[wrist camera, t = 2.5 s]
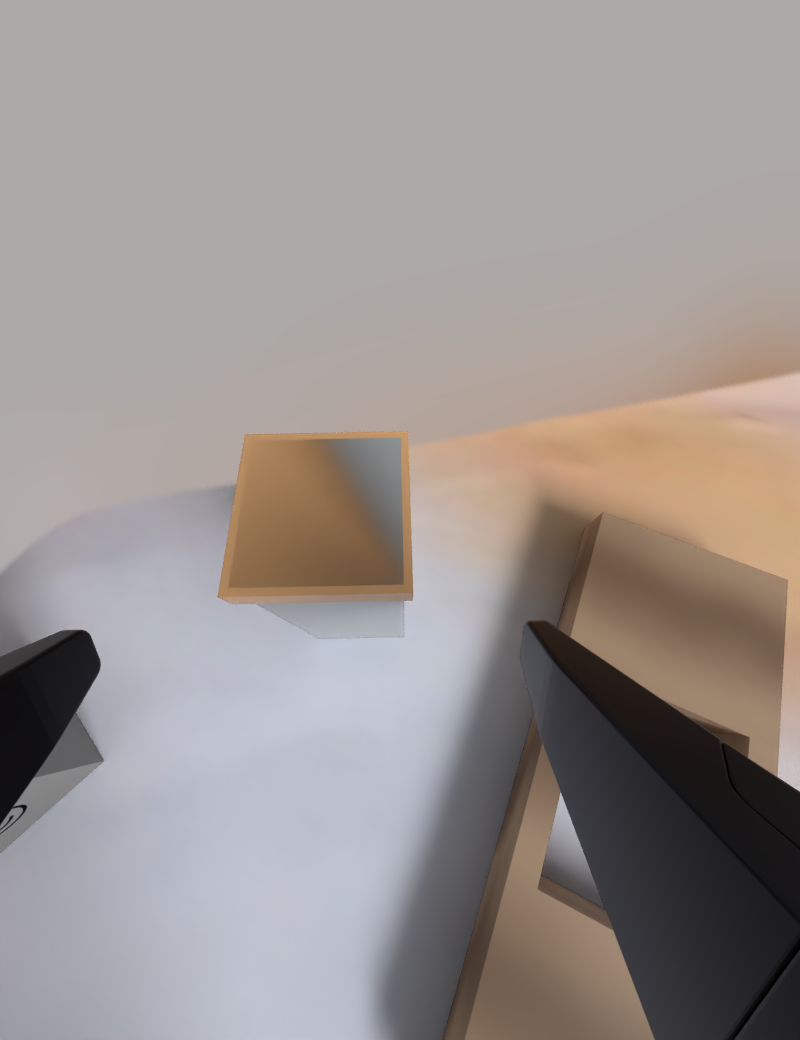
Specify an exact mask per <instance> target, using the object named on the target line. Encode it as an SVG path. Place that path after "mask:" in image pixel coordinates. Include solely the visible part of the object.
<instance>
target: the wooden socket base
mask: <svg viewBox="0 0 800 1040" xmlns="http://www.w3.org/2000/svg"><path fill="white" fill-rule="evenodd" d="M787 588H788V580H787V579H784V578H781V577H778V576H776V575H773V574H770V573H767V572H765V571H762V570H759V569H757V568H754V567H751V566H748V565H746V564H743V563H740V562H737V561H735V560H732V559H729V558H726V557H724V556H721V555H718V554H716V553H713V552H710V551H707V550H705V549H702V548H699V547H696V546H694V545H691V544H688V543H686V542H683V541H680V540H677V539H675V538H672V537H669V536H666V535H664V534H661V533H658V532H655V531H653V530H650V529H647V528H645V527H642V526H639V525H636V524H634V523H631V522H628V521H625V520H623V519H620V518H617V517H615V516H612V515H609V514H606V513H604V512H603V513H602V514H601V515H600V516H598V517H597V518H596V519H595V520H594V521H593V522H592V523H590V524H589V525H588V526H587V527H586V528H585V530H584V533H583V537H582V541H581V544H580V548H579V551H578V555H577V558H576V562H575V566H574V569H573V573H572V576H571V580H570V584H569V587H568V591H567V594H566V598H565V602H564V605H563V609H562V612H561V616H560V620H559V623H558V627H557V628H558V629H559V630H561V631H562V632H564V633H565V634H566V635H568V636H569V637H571V638H572V639H574V640H575V641H577V642H578V643H580V644H581V645H583V646H584V647H586V648H587V649H589V650H590V651H591V652H593V653H594V654H596V655H597V656H599V657H600V658H602V659H603V660H605V661H606V662H608V663H609V664H611V665H612V666H614V667H615V668H617V669H618V670H619V671H621V672H622V673H624V674H625V675H627V676H628V677H630V678H631V679H633V680H634V681H636V682H637V683H639V684H640V685H642V686H643V687H645V688H646V689H647V690H649V691H650V692H652V693H653V694H655V695H656V696H658V697H659V698H661V699H662V700H664V701H665V702H667V703H668V704H670V705H671V706H673V707H674V708H675V709H677V710H678V711H680V712H681V713H683V714H684V715H686V716H687V717H689V718H690V719H692V720H693V721H695V722H696V723H698V724H699V725H701V726H702V727H703V728H705V729H706V730H708V731H711V733H712V734H714V735H715V736H717V737H718V738H720V740H721V743H724V742H725V743H727V744H729V745H730V746H732V747H733V748H735V749H736V750H738V751H739V752H741V753H742V754H744V755H745V756H746V757H748V758H749V759H751V760H752V761H754V762H755V763H757V764H758V765H760V766H761V767H763V768H764V769H766V770H768V771H769V772H771V773H772V774H774V775H775V776H777V772H778V754H779V735H780V717H781V698H782V680H783V662H784V643H785V625H786V606H787ZM560 792H561V791H560V788H559V786H558V783H557V781H556V778H555V775H554V773H553V770H552V767H551V765H550V762H549V759H548V757H547V754H546V751H545V749H544V746H543V743H542V740H541V737H540V734H539V730H538V727H537V723H536V719H535V715H534V713H533V717H532V720H531V724H530V728H529V731H528V735H527V738H526V742H525V745H524V749H523V753H522V756H521V760H520V763H519V767H518V771H517V774H516V778H515V781H514V785H513V789H512V792H511V796H510V799H509V803H508V807H507V810H506V814H505V817H504V821H503V825H502V828H501V832H500V835H499V839H498V843H497V846H496V850H495V853H494V857H493V861H492V864H491V868H490V871H489V875H488V879H487V882H486V886H485V889H484V893H483V897H482V900H481V904H480V907H479V911H478V914H477V918H476V922H475V925H474V929H473V932H472V936H471V940H470V943H469V947H468V950H467V954H466V958H465V961H464V965H463V968H462V972H461V976H460V979H459V983H458V986H457V990H456V994H455V997H454V1001H453V1004H452V1008H451V1012H450V1015H449V1019H448V1022H447V1026H446V1030H445V1033H444V1037H443V1040H655V1039H654V1037H653V1034H652V1031H651V1029H650V1026H649V1023H648V1021H647V1018H646V1016H645V1013H644V1010H643V1008H642V1005H641V1002H640V1000H639V997H638V994H637V992H636V989H635V987H634V984H633V981H632V979H631V976H630V973H629V971H628V968H627V965H626V963H625V960H624V957H623V955H622V952H621V950H620V947H619V944H618V942H617V939H616V936H615V934H614V931H613V928H612V926H611V923H610V920H609V918H608V915H607V913H606V910H605V909H603V908H602V907H600V906H598V905H596V904H594V903H592V902H590V901H589V900H587V899H585V898H583V897H581V896H579V895H577V894H576V893H574V892H572V891H570V890H568V889H566V888H564V887H563V886H561V885H559V884H557V883H555V882H553V881H551V880H549V879H548V878H546V877H544V876H542V875H541V872H542V868H543V863H544V859H545V855H546V851H547V847H548V842H549V838H550V834H551V830H552V825H553V821H554V817H555V813H556V809H557V804H558V800H559V796H560Z"/></svg>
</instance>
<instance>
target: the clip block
mask: <svg viewBox="0 0 800 1040" xmlns="http://www.w3.org/2000/svg"><path fill="white" fill-rule="evenodd" d="M218 598H220V599H222V600H224V601H227V602H229V603H231V604H257V605H259V606H260V607H262V608H264V609H266V610H268V611H269V612H271V613H273V614H275V615H277V616H278V617H280V618H282V619H284V620H286V621H287V622H289V623H291V624H293V625H294V626H296V627H298V628H300V629H302V630H303V631H305V632H307V633H309V634H311V635H312V636H314V637H316V638H318V639H328V638H378V637H404V601H412V600H413V575H412V543H411V511H410V479H409V447H408V431H394V432H346V433H300V434H255V435H254V434H253V435H245V438H244V444H243V450H242V456H241V461H240V467H239V473H238V479H237V485H236V491H235V497H234V503H233V509H232V515H231V520H230V526H229V532H228V538H227V544H226V550H225V556H224V562H223V568H222V574H221V580H220V586H219V591H218Z"/></svg>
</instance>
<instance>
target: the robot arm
mask: <svg viewBox="0 0 800 1040" xmlns="http://www.w3.org/2000/svg"><path fill="white" fill-rule="evenodd" d="M520 660H521V665H522V669H523V673H524V677H525V681H526V685H527V689H528V692H529V696H530V700H531V704H532V708H533V712H534V715H535V719H536V723H537V727H538V730H539V734H540V737H541V740H542V743H543V746H544V749H545V751H546V754H547V757H548V759H549V762H550V765H551V767H552V770H553V773H554V775H555V778H556V781H557V783H558V786H559V788H560V791H561V794H562V796H563V799H564V802H565V804H566V807H567V810H568V812H569V815H570V817H571V820H572V823H573V825H574V828H575V831H576V833H577V836H578V839H579V841H580V844H581V847H582V849H583V852H584V854H585V857H586V860H587V862H588V865H589V868H590V870H591V873H592V876H593V878H594V881H595V884H596V886H597V889H598V891H599V894H600V897H601V899H602V902H603V905H604V907H605V910H606V913H607V915H608V918H609V920H610V923H611V926H612V928H613V931H614V934H615V936H616V939H617V942H618V944H619V947H620V950H621V952H622V955H623V957H624V960H625V963H626V965H627V968H628V971H629V973H630V976H631V979H632V981H633V984H634V987H635V989H636V992H637V994H638V997H639V1000H640V1002H641V1005H642V1008H643V1010H644V1013H645V1016H646V1018H647V1021H648V1023H649V1026H650V1029H651V1031H652V1034H653V1037H654V1039H655V1040H800V792H799V791H798V790H796V789H795V788H793V787H792V786H790V785H789V784H787V783H786V782H784V781H783V780H781V779H780V778H778V777H777V776H775V775H774V774H772V773H771V772H769V771H768V770H766V769H764V768H763V767H761V766H760V765H758V764H757V763H755V762H754V761H752V760H751V759H749V758H748V757H746V756H745V755H744V754H742V753H741V752H739V751H738V750H736V749H735V748H733V747H732V746H730V745H729V744H727V743H725V742H724V743H721V740H720V738H718V737H717V736H715V735H714V734H712V733H711V732H709V731H708V730H706V729H705V728H703V727H702V726H701V725H699V724H698V723H696V722H695V721H693V720H692V719H690V718H689V717H687V716H686V715H684V714H683V713H681V712H680V711H678V710H677V709H675V708H674V707H673V706H671V705H670V704H668V703H667V702H665V701H664V700H662V699H661V698H659V697H658V696H656V695H655V694H653V693H652V692H650V691H649V690H647V689H646V688H645V687H643V686H642V685H640V684H639V683H637V682H636V681H634V680H633V679H631V678H630V677H628V676H627V675H625V674H624V673H622V672H621V671H619V670H618V669H617V668H615V667H614V666H612V665H611V664H609V663H608V662H606V661H605V660H603V659H602V658H600V657H599V656H597V655H596V654H594V653H593V652H591V651H590V650H589V649H587V648H586V647H584V646H583V645H581V644H580V643H578V642H577V641H575V640H574V639H572V638H571V637H569V636H568V635H566V634H565V633H564V632H562V631H561V630H559V629H558V628H556V627H555V626H553V625H552V624H550V623H549V622H547V621H544V620H534V621H527V622H525V624H524V627H523V634H522V642H521V650H520ZM100 666H101V662H100V658H99V656H98V653H97V651H96V648H95V646H94V643H93V640H92V638H91V636H90V634H89V633H88V632H87V631H85V630H64V631H60V632H58V633H55V634H53V635H50V636H48V637H46V638H43V639H41V640H39V641H36V642H34V643H32V644H29V645H27V646H25V647H22V648H20V649H18V650H15V651H13V652H11V653H8V654H6V655H4V656H1V657H0V826H1V824H2V823H3V821H4V820H5V819H6V817H7V816H8V814H9V813H10V811H11V810H12V809H13V807H14V806H15V804H16V803H17V801H18V800H19V799H20V797H21V796H22V794H23V793H24V791H25V790H26V789H27V787H28V786H29V784H30V783H31V781H32V780H33V779H34V777H35V776H36V774H37V773H38V771H39V770H40V769H41V767H42V766H43V764H44V763H45V761H46V760H47V758H48V757H49V755H50V754H51V752H52V751H53V749H54V748H55V746H56V745H57V743H58V742H59V740H60V738H61V737H62V735H63V733H64V732H65V730H66V728H67V727H68V725H69V723H70V721H71V720H72V718H73V716H74V715H75V713H76V711H77V709H78V708H79V706H80V704H81V703H82V701H83V699H84V697H85V696H86V694H87V692H88V691H89V689H90V687H91V685H92V684H93V682H94V680H95V679H96V677H97V675H98V673H99V671H100Z"/></svg>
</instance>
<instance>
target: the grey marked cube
mask: <svg viewBox="0 0 800 1040" xmlns="http://www.w3.org/2000/svg"><path fill="white" fill-rule="evenodd" d="M103 761H104V760H103V758H102V757H101V755H100V753H99V751H98V750H97V748H96V746H95V745H94V743H93V741H92V739H91V738H90V736H89V734H88V733H87V731H86V729H85V727H84V726H83V724H82V722H81V721H80V719H79V717H78V715H77V714H76V713H75V715H74V716H73V718H72V720H71V721H70V723H69V725H68V727H67V728H66V730H65V732H64V733H63V735H62V737H61V738H60V740H59V742H58V743H57V745H56V746H55V748H54V749H53V751H52V752H51V754H50V755H49V757H48V758H47V760H46V761H45V763H44V764H43V766H42V767H41V769H40V770H39V771H38V773H37V774H36V776H35V777H34V779H33V780H32V781H31V783H30V784H29V786H28V787H27V789H26V790H25V791H24V793H23V794H22V796H21V797H20V799H19V800H18V801H17V803H16V804H15V806H14V807H13V809H12V810H11V811H10V813H9V814H8V816H7V817H6V819H5V820H4V821H3V823H2V824H1V826H0V853H1V852H2V851H3V850H4V849H6V848H7V847H8V846H9V845H10V844H11V843H12V842H13V841H15V840H16V839H17V838H18V837H19V836H20V835H21V834H22V833H24V832H25V831H26V830H27V829H28V828H29V827H30V826H31V825H33V824H34V823H35V822H36V821H37V820H38V819H39V818H40V817H42V816H43V815H44V814H45V813H46V812H47V811H48V810H49V809H51V808H52V807H53V806H54V805H55V804H56V803H57V802H58V801H60V800H61V799H62V798H63V797H64V796H65V795H66V794H67V793H69V792H70V791H71V790H72V789H73V788H74V787H75V786H76V785H78V784H79V783H80V782H81V781H82V780H83V779H84V778H85V777H87V776H88V775H89V774H90V773H91V772H92V771H93V770H94V769H96V768H97V767H98V766H99V765H100V764H101V763H102V762H103Z"/></svg>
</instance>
